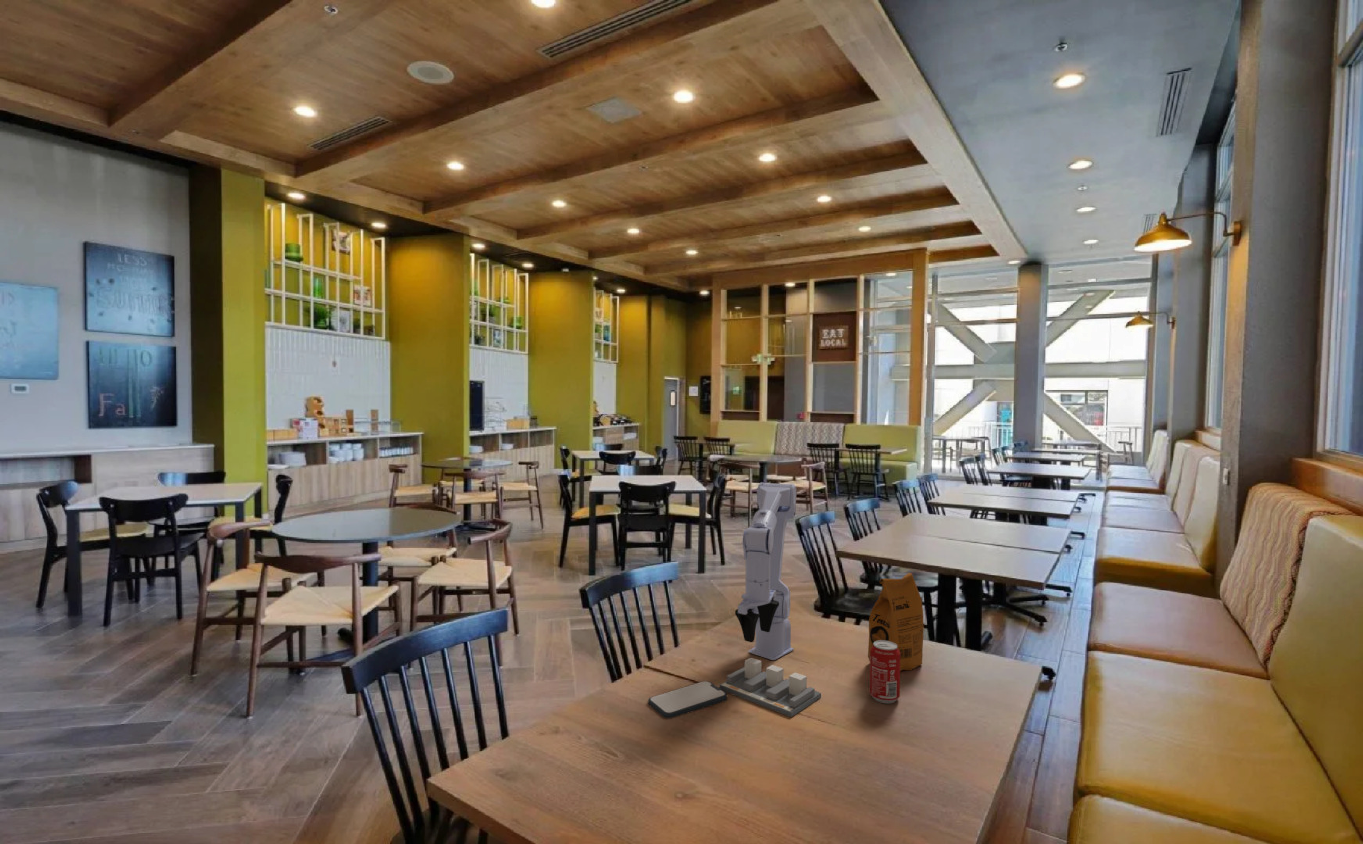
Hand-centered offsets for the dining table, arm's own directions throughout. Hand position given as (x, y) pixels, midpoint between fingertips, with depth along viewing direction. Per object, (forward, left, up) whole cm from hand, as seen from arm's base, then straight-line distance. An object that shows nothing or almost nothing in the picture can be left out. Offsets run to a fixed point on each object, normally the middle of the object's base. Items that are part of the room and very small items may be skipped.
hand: (757, 636), depth 152 cm
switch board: (+5, +7, -10) cm, 13 cm away
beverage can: (-10, +27, -10) cm, 30 cm away
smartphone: (+20, -4, -11) cm, 23 cm away
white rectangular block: (+3, +7, -9) cm, 11 cm away
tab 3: (+3, +13, -9) cm, 16 cm away
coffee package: (-29, +21, -10) cm, 37 cm away
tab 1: (+3, +1, -9) cm, 9 cm away
